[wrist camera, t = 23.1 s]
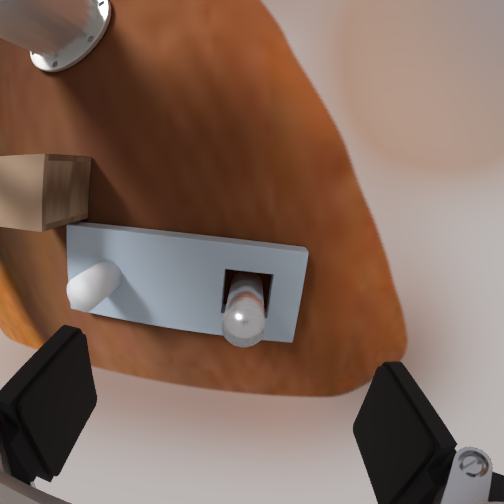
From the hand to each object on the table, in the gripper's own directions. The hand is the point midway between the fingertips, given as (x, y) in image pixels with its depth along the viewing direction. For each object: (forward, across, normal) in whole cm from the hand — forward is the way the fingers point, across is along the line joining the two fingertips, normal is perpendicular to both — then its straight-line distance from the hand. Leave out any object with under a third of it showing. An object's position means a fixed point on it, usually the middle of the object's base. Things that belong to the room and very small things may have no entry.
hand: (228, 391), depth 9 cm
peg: (+24, -1, +6) cm, 25 cm away
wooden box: (+25, +21, -3) cm, 33 cm away
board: (+24, +6, +6) cm, 26 cm away
